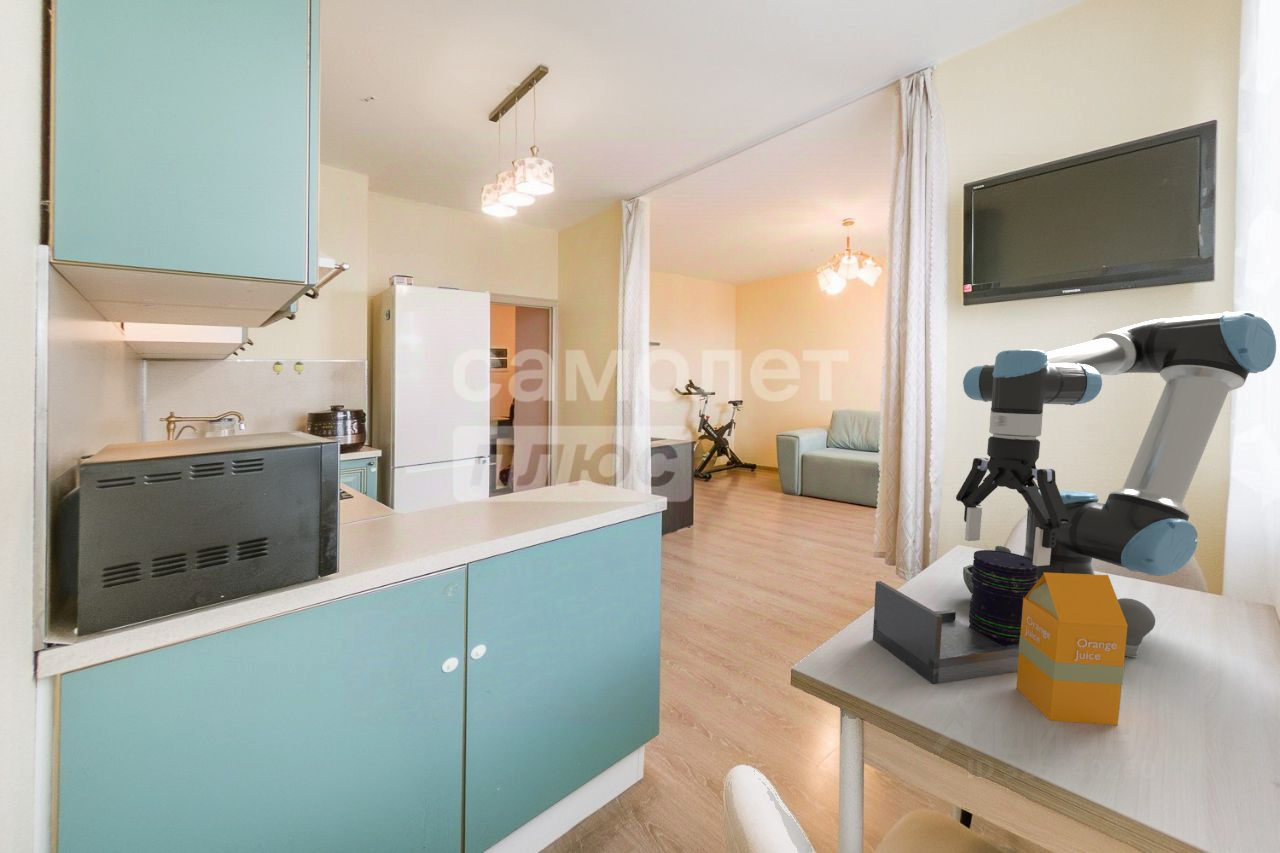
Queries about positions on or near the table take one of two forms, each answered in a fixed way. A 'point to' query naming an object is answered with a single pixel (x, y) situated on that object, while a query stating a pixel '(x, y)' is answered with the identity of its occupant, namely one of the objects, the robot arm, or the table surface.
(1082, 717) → the orange juice
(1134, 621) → the light bulb
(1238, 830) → the table surface
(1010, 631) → the dark navy cylinder
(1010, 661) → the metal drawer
